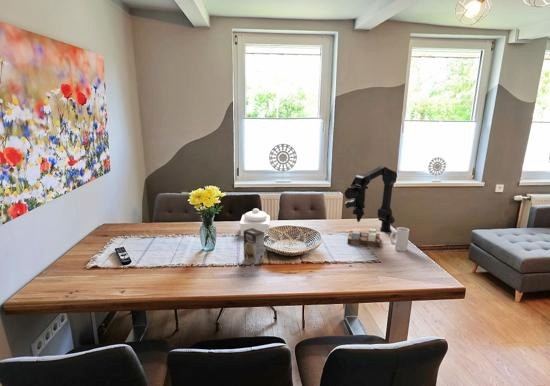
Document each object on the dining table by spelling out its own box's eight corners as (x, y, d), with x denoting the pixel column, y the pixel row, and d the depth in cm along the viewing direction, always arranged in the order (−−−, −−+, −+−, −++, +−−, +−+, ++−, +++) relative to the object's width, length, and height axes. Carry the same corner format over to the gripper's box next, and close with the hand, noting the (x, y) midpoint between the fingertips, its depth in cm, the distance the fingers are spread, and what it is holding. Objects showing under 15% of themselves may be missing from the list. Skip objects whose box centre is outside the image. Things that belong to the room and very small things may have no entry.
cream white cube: (368, 238, 195) (368, 232, 194) (375, 239, 194) (375, 233, 193) (368, 241, 191) (368, 234, 190) (375, 242, 190) (375, 235, 189)
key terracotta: (353, 234, 204) (353, 228, 203) (359, 235, 203) (360, 229, 202) (352, 236, 200) (353, 230, 199) (359, 237, 199) (360, 231, 198)
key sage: (368, 234, 201) (368, 228, 200) (375, 235, 200) (375, 229, 199) (368, 236, 198) (368, 230, 197) (375, 237, 196) (375, 231, 195)
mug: (404, 246, 190) (406, 227, 187) (409, 251, 183) (411, 231, 180) (387, 246, 190) (388, 226, 187) (390, 251, 183) (392, 231, 181)
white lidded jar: (269, 237, 204) (269, 212, 200) (239, 237, 204) (239, 212, 200) (270, 227, 221) (270, 204, 217) (243, 227, 221) (242, 204, 217)
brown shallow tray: (349, 235, 206) (349, 230, 206) (379, 238, 201) (379, 234, 201) (347, 243, 193) (347, 239, 193) (379, 247, 188) (379, 242, 188)
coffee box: (243, 259, 173) (242, 230, 169) (252, 255, 178) (252, 227, 174) (255, 264, 167) (255, 235, 163) (264, 260, 172) (264, 231, 168)
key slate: (352, 237, 197) (353, 230, 196) (359, 237, 196) (359, 231, 195) (352, 239, 194) (352, 233, 193) (359, 240, 192) (359, 233, 191)
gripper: (347, 191, 206) (346, 215, 210) (344, 199, 188) (343, 225, 192) (366, 193, 203) (364, 217, 206) (364, 201, 185) (362, 227, 189)
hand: (358, 221), depth 199 cm, fingers closed
